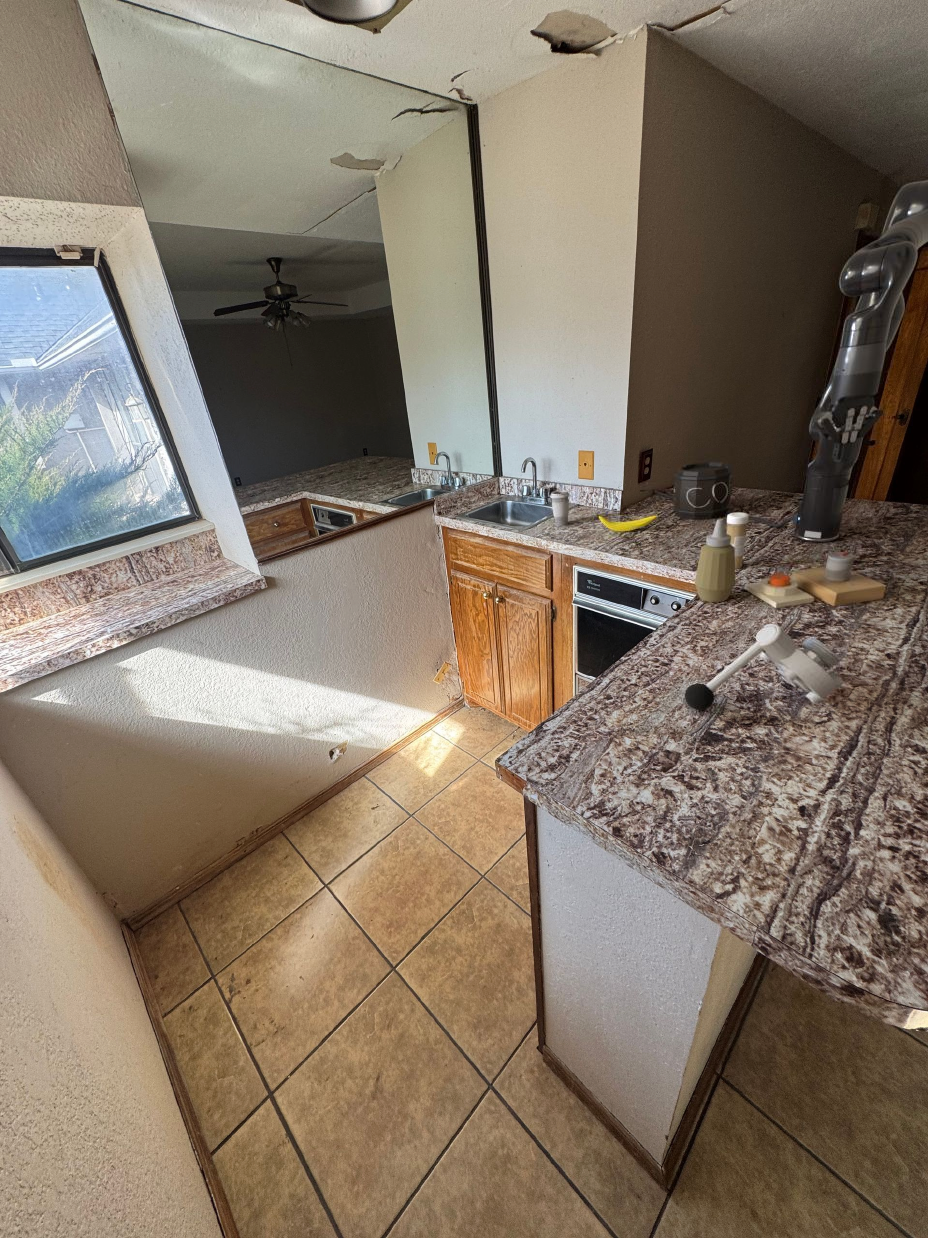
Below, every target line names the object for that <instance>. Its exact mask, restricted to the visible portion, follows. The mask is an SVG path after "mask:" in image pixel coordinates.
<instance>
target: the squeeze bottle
mask: <svg viewBox="0 0 928 1238" xmlns="http://www.w3.org/2000/svg"><path fill="white" fill-rule="evenodd" d="M730 543H731V536H730V535H728V534H727V532H726V527H725V521H724V518H718V519H716V522H715V525H714V529H713V531H712V533H711V534H708V535H707V536H706V542H705V544H704V545H703V546H701V547H700V553H699V558H698V563H697V569H696V574H695V579H694V585H695V589H696V591H697V595H698V598H699V599H701V600H702V601H705V602H708V603H720V602H721V603H722V602H724V601H725V602H726V601H727V600H728V599H729V597H730V595H731V593H732V591H733V590H734V587H735V585H736V568H735V548H734V547H733V546H732V545H731V544H730Z"/></svg>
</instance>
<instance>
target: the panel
mask: <svg viewBox="0 0 928 1238" xmlns="http://www.w3.org/2000/svg"><path fill="white" fill-rule="evenodd" d="M825 569H826V565H825V566H818V567H812V568H806V569H800V570H793V571H792V572H791V573H792V574H791V577H790V579H792V580H794V581H796V582H797V585H798V586H797V588H798V589H800V590H802V591H803V592H805V593H807V594H809V595H811V596H813V597H814V598H815V597H816V598H817V599H819V600H821V601H823V602H825V603H827V604H828V605H831V606H832V607H838V606H844V605H852V604H857V603H863V602H870V601H877V600H882V599H884V595H885V592H886V587H887V585H885V584H884V583H882V582H879V581H876V580H875V579H872V578H870V577H867V576H864V575H863V574H860V573H857V572H856V571H853V570H852V571H851V576H850V579H849V580H848V581H844V582H835V581H830V580H827V579H825V578H824V574H825Z"/></svg>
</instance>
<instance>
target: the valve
mask: <svg viewBox="0 0 928 1238" xmlns="http://www.w3.org/2000/svg"><path fill="white" fill-rule="evenodd" d="M755 640H756V641H755V642H754V644H752V645H751V646H750V647H749V648H748V649H747V650H745V651H744V652H743V653H742V654H740V655H739V656H738V657H737V658H736V659H735V660H733V661H732V662H731V663H730V664H729V665H728V666H726V667H725V668H724V669H723V670H722V671H720V672H719V673H718V674H717V675H716V676H714V677H713V678H712V679H711V680H710V681H709V682H707V683H706V684H704V683H701V682H700V683H699V682H697V683H693V684H690V685H689V686H687V688H686V690H685V692H684V700H685V702H686V704H687V705H688V706H689V707H690V708H692V709H693V710H695V711H705V710H708V709H709V708H710V707H711V706H712V705H713V704H714V702H715V693H714V691H715V690H717V689H718V688H720V686H722V685H723V684H724V683H725V682H727V681H728V680H729V679H730V678H731V677H733V676H734V675H736V673H738V671H740V670H741V669H742V668H744V667H745V666H746V665H747V664H748V663H750V662H751V661H752V660H754V658H756V657H757V656H759V657H760V658H761V659H762V660H763V661H764V662H765V663H767V664H769V663H770V662H772V663H773V665H774V666H775V667H776V668H777V669H778V670H777V671H776V672H777V673H778V674H779V675H780V678H781V679H782V680H783V681H784V682H786V684H788V685H792V687H794V688H797V687H799V688H800V689H802V690H804V691H805V692H808V693H807V694H805V697H806V698H807V699H808V700H809V701H810V702H811V703H812V704H813V705H817V704H818V703H819V702H821V701H823V700H824V699H826V698H827V697H829V696H830V695H831V694H833V693H834V692H835V691H837V689H839V688H840V687H841V686H843V685H844V682H843V680H842V679H841V677H838V675H835V674H833V673H831V674H829V673H828V672H827V670H826V669H824V667H826V668H827V669H830V670H831V668H834V666H836V665H837V664H838V663H840V662H841V660H840V657H838V655H837V654H835V652H834V651H832V650H831V648H829V647H828V646H826V645H825V644H824V643H823V642H822V641H820V640H818V639H817V638H815V637H813V636H811V635H810V636H808V637H807V638H805V639H804V640H803V641H802V642H800V645H801V647H802V648H803V649H801V648H800V647H799V645H798V644H797V642H796V641H794V639H793V638H792V637H791V636H790V635H789V634H788V633H787V632H786V631H785V630H784V629H783V628H782V627H781V626H780V625H779V624H776V623H768V624H765V625H763V627H762V628H761V629H760V630H759V631H758V632H757V633H756V636H755ZM823 666H824V667H823Z"/></svg>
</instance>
